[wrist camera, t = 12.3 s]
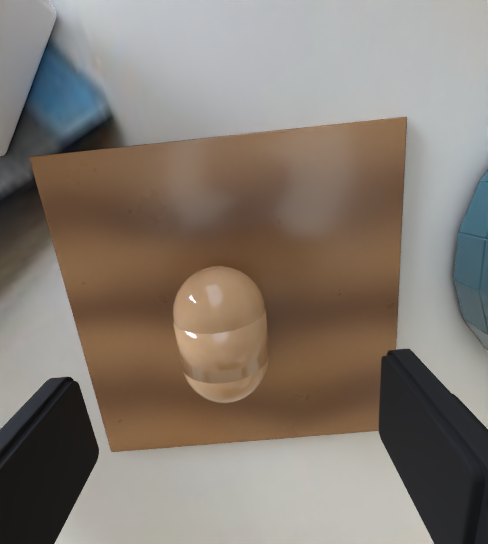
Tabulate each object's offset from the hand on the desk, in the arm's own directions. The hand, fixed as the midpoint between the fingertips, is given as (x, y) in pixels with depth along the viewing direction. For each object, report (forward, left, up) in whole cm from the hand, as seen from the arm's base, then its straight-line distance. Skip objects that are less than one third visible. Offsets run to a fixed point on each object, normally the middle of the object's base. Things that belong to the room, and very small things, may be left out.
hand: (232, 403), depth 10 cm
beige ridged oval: (+1, 0, -8) cm, 8 cm away
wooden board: (0, 0, -8) cm, 8 cm away
